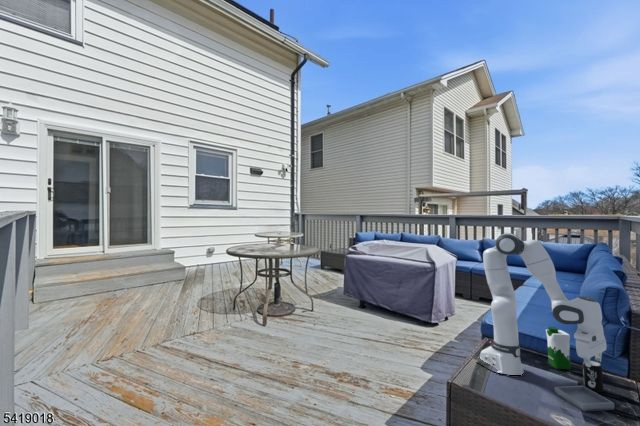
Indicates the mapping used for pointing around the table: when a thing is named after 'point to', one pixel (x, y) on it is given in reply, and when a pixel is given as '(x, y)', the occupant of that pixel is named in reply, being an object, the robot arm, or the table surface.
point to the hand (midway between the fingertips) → (593, 363)
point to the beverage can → (593, 377)
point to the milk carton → (558, 348)
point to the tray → (584, 398)
